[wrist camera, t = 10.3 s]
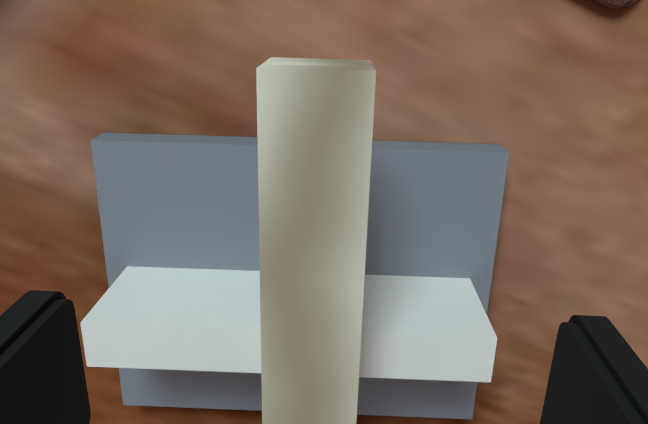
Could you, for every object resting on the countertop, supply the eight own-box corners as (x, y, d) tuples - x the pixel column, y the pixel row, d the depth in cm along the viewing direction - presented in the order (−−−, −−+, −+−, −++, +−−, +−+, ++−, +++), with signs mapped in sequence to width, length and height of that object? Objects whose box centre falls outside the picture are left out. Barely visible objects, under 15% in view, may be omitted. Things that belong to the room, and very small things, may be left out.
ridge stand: (500, 144, 25) (549, 188, 19) (466, 400, 30) (496, 499, 24) (104, 132, 26) (30, 172, 20) (133, 386, 31) (81, 481, 25)
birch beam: (370, 60, 18) (375, 71, 15) (344, 558, 26) (344, 631, 23) (271, 57, 18) (256, 68, 15) (274, 554, 26) (265, 627, 23)
